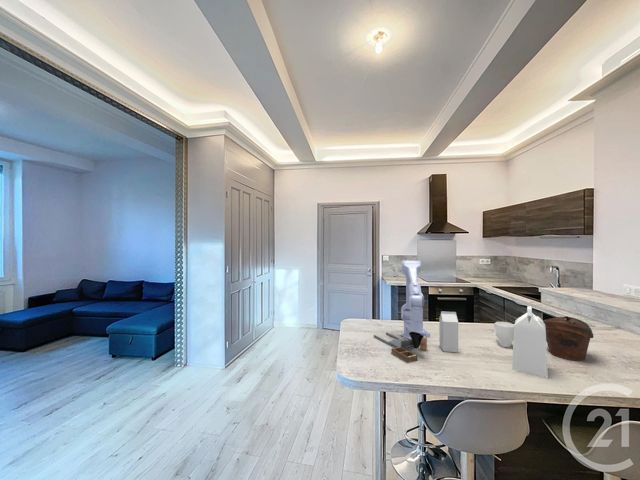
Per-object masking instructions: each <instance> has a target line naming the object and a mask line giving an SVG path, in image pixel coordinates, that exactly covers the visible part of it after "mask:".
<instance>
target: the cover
mask: <svg viewBox="0 0 640 480" xmlns="http://www.w3.org/2000/svg"><path fill="white" fill-rule="evenodd" d="M388 342H389V343H391V344H393V345H395V346H397V347H402V348H407V347H411V346H414V345H413V341H412V339H407V338H406V339H405V337H404V338H400V339H397V340H396V339H393V340H389V341H388Z"/></svg>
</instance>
